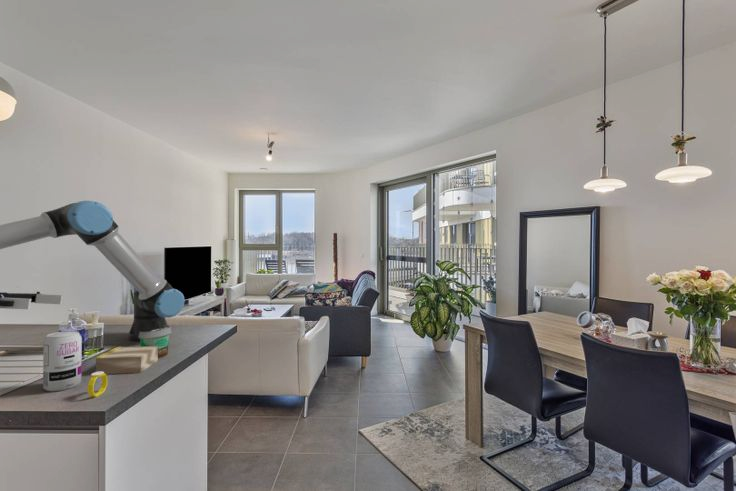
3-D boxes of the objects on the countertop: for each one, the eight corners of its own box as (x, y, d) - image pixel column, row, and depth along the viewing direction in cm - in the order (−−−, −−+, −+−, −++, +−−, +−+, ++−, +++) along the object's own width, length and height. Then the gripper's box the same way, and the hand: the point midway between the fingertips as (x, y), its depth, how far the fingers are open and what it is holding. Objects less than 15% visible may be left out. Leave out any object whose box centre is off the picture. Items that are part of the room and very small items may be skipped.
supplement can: (61, 380, 105) (61, 330, 105) (88, 381, 105) (88, 330, 105) (34, 392, 97) (35, 337, 97) (64, 392, 97) (64, 337, 97)
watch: (95, 400, 93) (94, 378, 93) (84, 400, 93) (83, 378, 93) (110, 389, 99) (109, 368, 99) (100, 389, 99) (99, 368, 99)
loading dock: (117, 361, 122) (117, 346, 122) (157, 360, 124) (157, 345, 124) (95, 374, 111) (95, 357, 111) (140, 372, 112) (141, 356, 112)
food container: (153, 362, 122) (153, 333, 122) (138, 360, 124) (138, 332, 124) (179, 351, 134) (179, 325, 134) (165, 350, 136) (165, 324, 136)
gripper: (-8, 306, 109) (71, 309, 114) (-94, 317, 85) (11, 321, 89) (-5, 282, 110) (74, 286, 114) (-89, 286, 86) (15, 291, 90)
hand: (46, 301), depth 102 cm, fingers open, 13 cm apart
